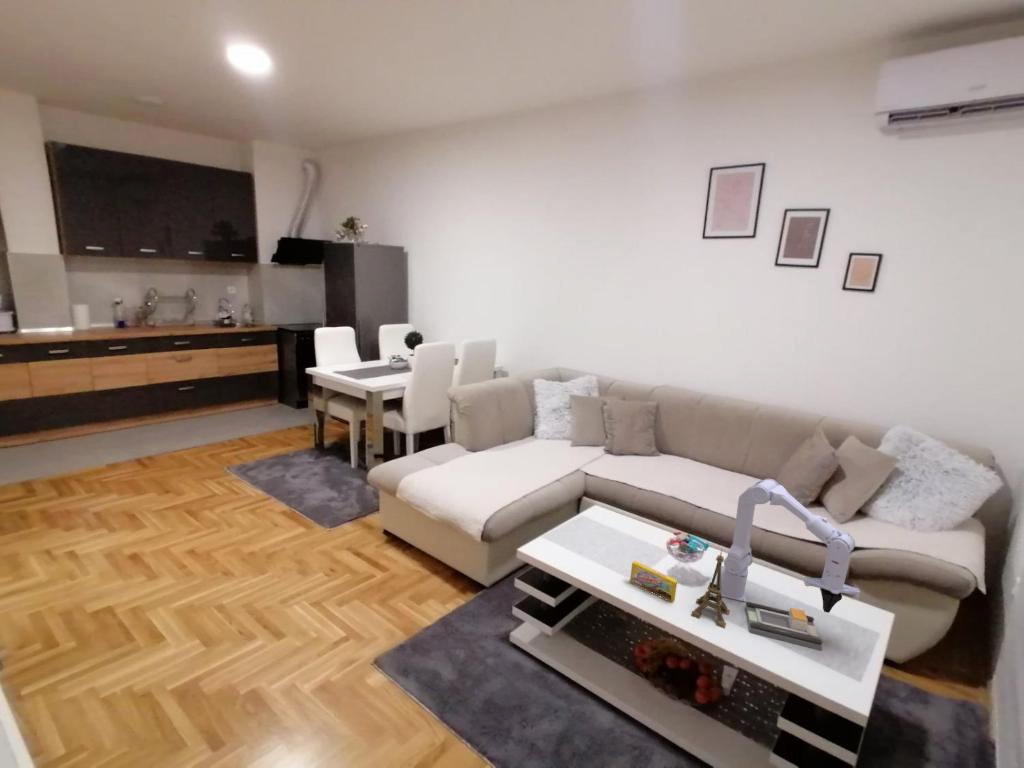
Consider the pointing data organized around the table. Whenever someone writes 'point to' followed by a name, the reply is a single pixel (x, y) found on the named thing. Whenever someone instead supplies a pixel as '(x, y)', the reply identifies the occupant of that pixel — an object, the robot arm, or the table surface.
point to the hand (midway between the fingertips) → (825, 610)
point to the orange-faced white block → (797, 619)
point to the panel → (780, 626)
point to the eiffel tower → (713, 597)
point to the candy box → (653, 581)
